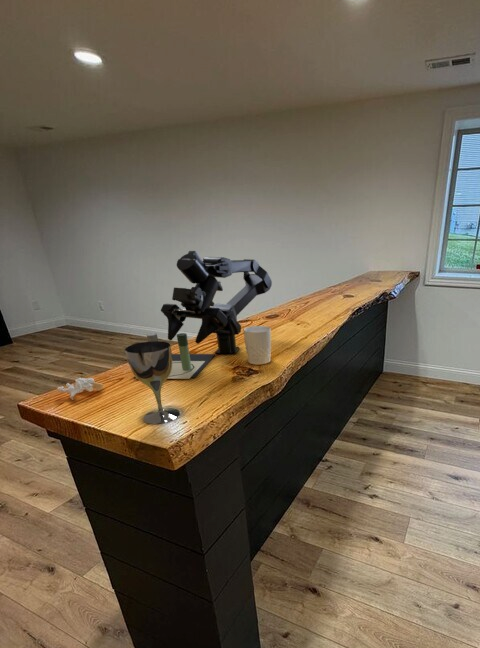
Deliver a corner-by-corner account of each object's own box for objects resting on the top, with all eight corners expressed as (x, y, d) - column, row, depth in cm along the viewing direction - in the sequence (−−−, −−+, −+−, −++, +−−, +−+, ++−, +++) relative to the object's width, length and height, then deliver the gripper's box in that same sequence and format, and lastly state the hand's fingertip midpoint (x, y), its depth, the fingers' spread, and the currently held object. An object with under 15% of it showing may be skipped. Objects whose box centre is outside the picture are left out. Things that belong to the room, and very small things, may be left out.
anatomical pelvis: (87, 371, 86) (103, 373, 83) (92, 387, 87) (108, 390, 84) (51, 382, 79) (68, 385, 76) (57, 399, 80) (74, 402, 78)
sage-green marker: (188, 367, 99) (182, 332, 95) (193, 368, 98) (188, 334, 94) (180, 369, 97) (174, 334, 93) (186, 371, 96) (180, 336, 92)
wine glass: (131, 420, 71) (114, 350, 65) (161, 404, 77) (148, 339, 72) (162, 428, 68) (148, 355, 62) (190, 410, 75) (179, 343, 69)
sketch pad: (164, 354, 110) (164, 353, 110) (215, 355, 110) (214, 353, 110) (131, 379, 91) (131, 378, 91) (193, 379, 91) (193, 378, 91)
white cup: (267, 366, 101) (265, 333, 97) (241, 364, 102) (238, 331, 98) (275, 358, 108) (274, 326, 104) (252, 356, 110) (249, 325, 106)
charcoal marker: (158, 367, 99) (151, 332, 95) (165, 368, 98) (158, 333, 94) (151, 369, 97) (144, 334, 93) (158, 371, 96) (151, 335, 92)
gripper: (159, 273, 95) (135, 322, 90) (216, 276, 89) (194, 328, 84) (183, 298, 105) (163, 343, 100) (236, 302, 99) (217, 350, 94)
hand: (182, 341), depth 94 cm, fingers open, 9 cm apart
